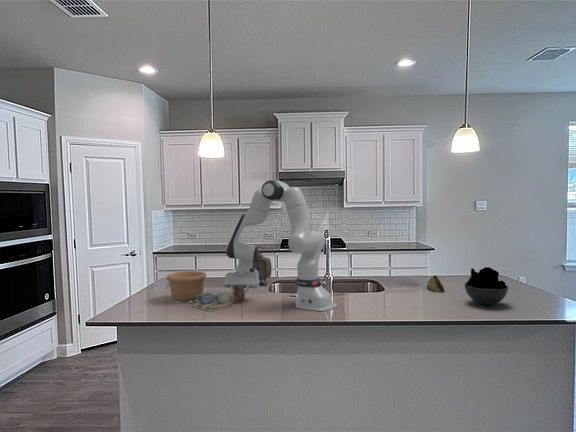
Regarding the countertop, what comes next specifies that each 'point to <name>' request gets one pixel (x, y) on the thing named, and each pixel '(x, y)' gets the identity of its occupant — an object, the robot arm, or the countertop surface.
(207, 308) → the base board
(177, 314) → the countertop surface
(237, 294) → the pillar
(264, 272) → the tabletop clock
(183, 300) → the pottery
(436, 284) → the rock
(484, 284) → the bowl of black rocks
